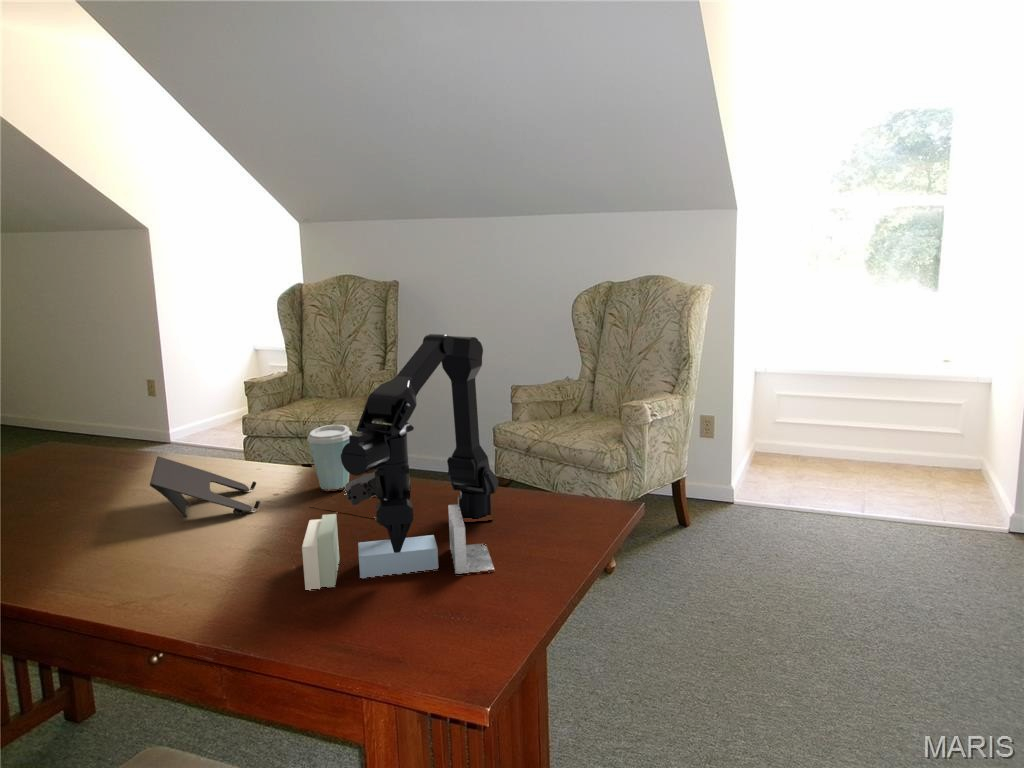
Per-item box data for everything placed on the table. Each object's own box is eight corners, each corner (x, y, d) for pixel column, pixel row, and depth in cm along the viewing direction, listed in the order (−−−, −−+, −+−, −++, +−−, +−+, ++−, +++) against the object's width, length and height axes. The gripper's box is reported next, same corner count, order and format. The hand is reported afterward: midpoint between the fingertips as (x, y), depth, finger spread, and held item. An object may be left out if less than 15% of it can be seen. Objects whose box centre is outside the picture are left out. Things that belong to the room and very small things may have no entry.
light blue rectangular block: (434, 557, 143) (433, 534, 142) (438, 571, 137) (437, 548, 136) (359, 565, 140) (358, 542, 139) (360, 580, 134) (358, 556, 133)
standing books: (339, 557, 143) (336, 512, 141) (335, 588, 130) (331, 538, 129) (312, 560, 142) (309, 515, 141) (305, 590, 130) (301, 541, 128)
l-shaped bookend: (485, 546, 147) (484, 502, 145) (494, 571, 135) (493, 524, 134) (450, 549, 146) (448, 505, 144) (455, 575, 134) (453, 527, 132)
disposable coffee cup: (345, 496, 178) (340, 434, 176) (303, 494, 181) (298, 433, 178) (362, 482, 189) (358, 424, 186) (322, 480, 191) (318, 423, 188)
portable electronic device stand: (245, 544, 166) (261, 506, 166) (136, 514, 157) (154, 474, 157) (241, 511, 187) (255, 478, 187) (145, 483, 178) (160, 447, 178)
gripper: (348, 449, 142) (353, 527, 145) (343, 478, 124) (349, 567, 127) (408, 445, 144) (411, 522, 147) (411, 474, 126) (415, 561, 129)
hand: (396, 542), depth 137 cm, fingers open, 9 cm apart
